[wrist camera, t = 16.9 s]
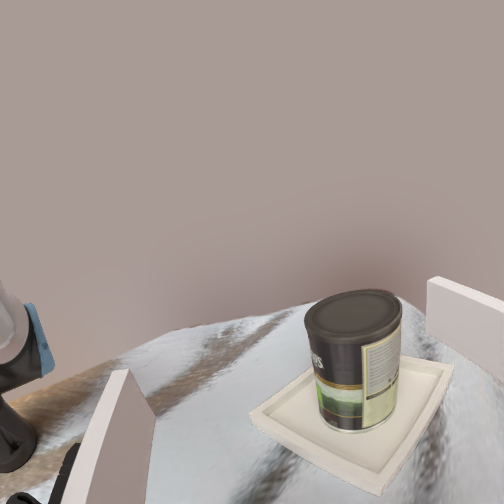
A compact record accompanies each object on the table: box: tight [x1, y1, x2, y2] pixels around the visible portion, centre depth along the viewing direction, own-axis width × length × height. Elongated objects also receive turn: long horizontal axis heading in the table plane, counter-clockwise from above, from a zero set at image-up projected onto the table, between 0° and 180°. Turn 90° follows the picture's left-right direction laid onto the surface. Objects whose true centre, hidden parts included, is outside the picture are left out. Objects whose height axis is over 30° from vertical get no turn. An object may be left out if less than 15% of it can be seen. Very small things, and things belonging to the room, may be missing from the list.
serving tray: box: [248, 355, 455, 497], centre depth 29 cm, size 20×20×2 cm
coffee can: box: [304, 290, 402, 434], centre depth 28 cm, size 10×10×14 cm
